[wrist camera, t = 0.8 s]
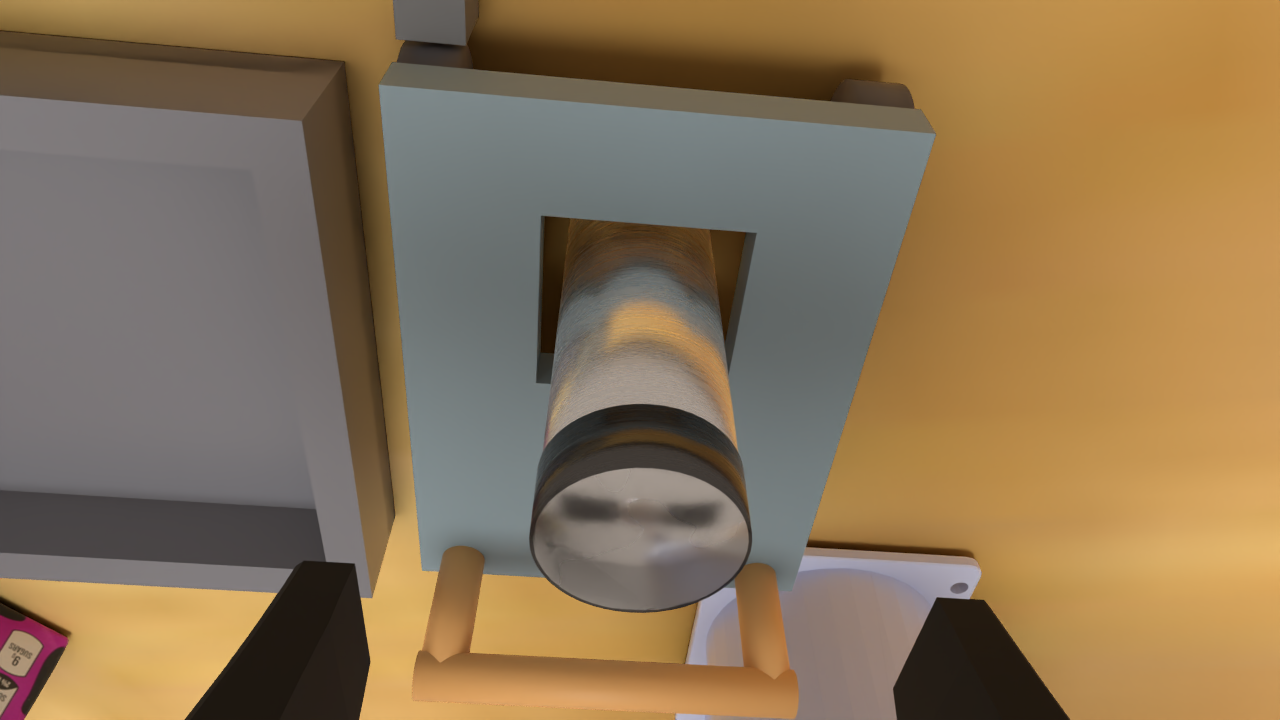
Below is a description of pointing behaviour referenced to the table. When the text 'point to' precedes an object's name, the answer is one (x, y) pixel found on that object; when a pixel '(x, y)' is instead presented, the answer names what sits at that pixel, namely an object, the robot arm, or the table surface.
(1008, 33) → the table surface
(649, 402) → the pin
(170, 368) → the tray
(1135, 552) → the table surface
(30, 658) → the candy bar box
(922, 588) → the robot arm
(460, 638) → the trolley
